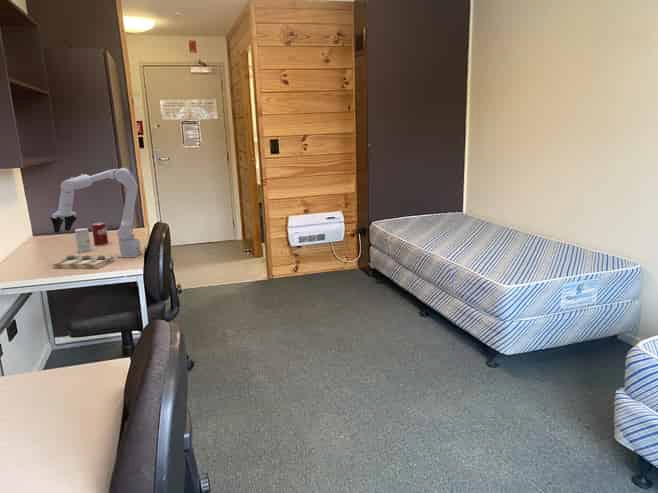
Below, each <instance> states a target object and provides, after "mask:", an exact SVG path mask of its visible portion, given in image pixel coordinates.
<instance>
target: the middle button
mask: <svg viewBox="0 0 658 493" xmlns="http://www.w3.org/2000/svg"><path fill="white" fill-rule="evenodd" d="M82 256H83V257H82V260H88V259H90V257H89V256H90V255H82Z"/></svg>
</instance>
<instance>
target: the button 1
mask: <svg viewBox="0 0 658 493" xmlns="http://www.w3.org/2000/svg"><path fill="white" fill-rule="evenodd" d="M74 256H75V255H67V256H66V258H67V260H73V259H75V257H74Z"/></svg>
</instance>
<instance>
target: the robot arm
mask: <svg viewBox="0 0 658 493" xmlns="http://www.w3.org/2000/svg"><path fill="white" fill-rule="evenodd" d="M107 179H110V180H116V181H117V182H119V183H121V185H123V186H124V187H125V188H126V193H125V199H124V200H125V201H124V206H123V212H122V218H121V222H120V225H119V226H120V227H119V228H118V230H117V231H116V233H117V234H116V235H117V236H118V239H117V240H118V247H119V252H120V254H119V255H117V256H116V257H117V258H136V257H138V256H140V255H141V254H143V252H142V247H141V241H140V239H138V238H135V235H134V236H132V235H131V234H133V232H134V229H133V226H132V225H133V218H134V217H133V216H134V212H135V206H136V199H137V194H138V186H139V184H138V183H137V180H136V179H135V177H134V174H133V173H132V171H130V170H129V169H128V168H127V167H121V168H115V169H108V170H105V171H103V172H99V173H95V174H92V175H89V174H84V173H81V174H79V176H75V177H72V176H71V177H70V178H69V179H65V180H63V181H62V182H61V183H60V189H61V190H60V195H59V200H58V207H57V208H58V209H57V210H56V211H55V212H54V213H52V214H51V216H50V220H51V223H52V227H53V232H55V233H60V231H61V228H62V223H63V222H64V230H65V231H67V232H70V231H71V229H72V226H73V225H74V223H75V221H76V220H77V218H78V217H76V216H77V212H76V211H73V204H74V198H75V196H74V194H75V190H81V189H84V188H87V187H91V186H92V184H93V183H94V182H98V181H103V180H107ZM63 218H64V219H63Z"/></svg>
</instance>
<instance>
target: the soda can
mask: <svg viewBox="0 0 658 493" xmlns="http://www.w3.org/2000/svg"><path fill="white" fill-rule="evenodd" d="M91 230H92V232H91V233H92V237H93V243H94V246H95V247H101V246H106V245H108V244H109V237H108V236H109V235H108V230H107V225H106V223H105V222H95V223H94V222H93V223H92V224H91Z"/></svg>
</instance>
